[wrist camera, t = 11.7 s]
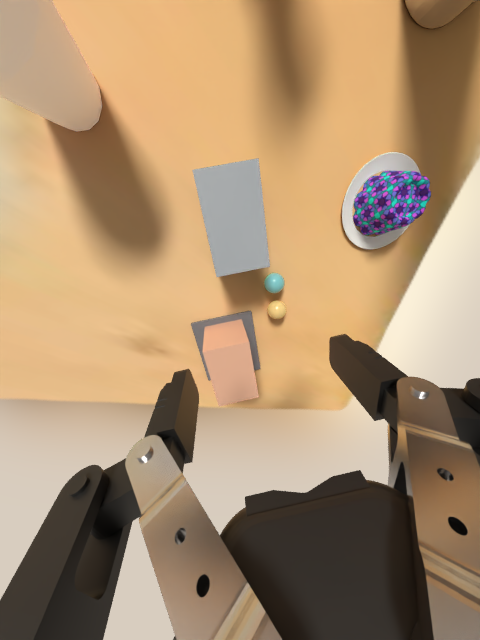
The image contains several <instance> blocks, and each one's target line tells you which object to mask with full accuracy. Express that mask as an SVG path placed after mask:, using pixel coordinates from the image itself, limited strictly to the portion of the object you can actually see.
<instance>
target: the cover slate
mask: <svg viewBox="0 0 480 640" xmlns="http://www.w3.org/2000/svg"><path fill="white" fill-rule="evenodd" d="M193 174H194V178H195V183H196V187H197V191H198V196H199V200H200V205H201V209H202V214H203V218H204V223H205V227H206V232H207V236H208V241H209V245H210V250H211V254H212V258H213V263H214V267H215V272H216V276H217V277H220V276H225V275H230V274H235V273H240V272H245V271H250V270H255V269H260V268H265V267H270V263H269V253H268V244H267V234H266V225H265V215H264V206H263V196H262V187H261V177H260V168H259V158H258V159H252V160H246V161H241V162H235V163H229V164H224V165H218V166H212V167H207V168H201V169H195V170H193Z"/></svg>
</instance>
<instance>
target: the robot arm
mask: <svg viewBox="0 0 480 640" xmlns="http://www.w3.org/2000/svg"><path fill="white" fill-rule="evenodd" d="M476 1H478V0H405V2H406V6H407V8H408V11H409V13H410V15H411V16H412V18H413V19H414V20H415V21H416V23H418V24H419V25H421V26H423V27H425V28H431V29H432V28H438V27H441V26H443V25H445V24H447V23H449V22H450V21H451V20H453V19H454V18H455V17H456V16H458V15H459V14H460V13H461V12H462V11H463V10H464V9H465V8H467V7H468V6H469V5H470V4H471V3H472V2H476ZM329 359H330V364H331V367H332V369H333V370H334V371H335V373H336V374H337V375H338V376H339V378H340V379H341V380H342V381H343V382H344V384H345V385H346V386H347V387H348V389H349V390H350V391H351V392H352V394H353V395H354V396H355V397H356V399H357V400H358V401H359V402H360V403H361V405H362V406H363V407H364V408H365V410H366V411H367V412H368V413H369V415H370V416H371V417H372V418H373V419H374V421H376V420H381V419H385V420H386V421H387V422H388V451H389V477H388V486H387V485H384V484H382V483H378V482H375V481H369V480H366V479H365V478H364V476H363V474H362V473H361V471H360V470H359V471H354V472H350V473H346V474H342V475H337V476H333V477H331V478H329V479H328V480H326V481H324V482H323V483H321V484H320V485H318V486H317V487H315V488H313V489H312V490H310V491H309V492H307V493H297V492H286V491H276V490H272V491H268V492H264V493H260V494H255V495H251V496H246V497H245V504H246V507H245V508H244V509H242V510H241V511H239V512H238V513H237V514H236V515H235V516H234V517H233V518H232V519H231V520H230V521H229V522H228V524H227V525H226V527H225V528H224V529H223V531H222V533H221V535H219V534H218V532H217V530H216V529H215V527H214V525H213V524H212V522H211V520H210V519H209V517H208V516H207V514H206V512H205V510H204V509H203V507H202V505H201V504H200V502H199V500H198V499H197V497H196V495H195V494H194V492H193V491H192V489H191V487H190V485H189V484H188V482H187V481H186V479H185V477H184V476H183V467H184V464H186V463H190V462H192V458H193V450H194V441H195V432H196V422H197V412H198V404H199V393H198V389H197V387H196V384H195V382H194V379H193V377H192V374H191V372H190V370H189V369H186V370H182V371H178V372H175V373H174V375H173V379H172V382H171V383H167V384H166V385H165V386H164V388H163V389H162V390H161V391H160V394H159V397H158V402H157V403H156V405H155V409H154V411H153V414H152V417H151V420H150V423H149V425H148V428H147V431H146V434H145V437H144V438H143V439H141V440H140V441H138V442H137V443H136V444H135V445H134V446H133V447H132V449H131V450H130V452H129V453H128V455H127V458H126V459H124V460H122V461H121V462H118V463H117V464H115V465H113V466H111V467H109V468H107V469H105V470H103V469H102V468H101V467H99V466H98V465H91V466H88V467H86V468H84V469H82V470H80V471H79V472H78V473H76V474H75V475H74V476H73V477H72V478H71V479H70V480H69V481H68V482H67V483H66V484H65V486H64V487H63V489H62V490H61V492H60V494H59V495H58V497H57V499H56V501H55V502H54V504H53V506H52V508H51V510H50V512H49V513H48V515H47V517H46V519H45V520H44V523H43V524H42V526H41V528H40V530H39V532H38V533H37V535H36V537H35V539H34V540H33V542H32V544H31V546H30V548H29V549H28V551H27V553H26V555H25V557H24V558H23V560H22V562H21V564H20V566H19V567H18V569H17V571H16V573H15V575H14V576H13V578H12V580H11V582H10V584H9V586H8V587H7V589H6V591H5V593H4V595H3V597H2V598H1V600H0V640H103V637H104V633H105V629H106V625H107V621H108V617H109V613H110V609H111V605H112V601H113V597H114V593H115V589H116V585H117V581H118V577H119V573H120V569H121V565H122V561H123V557H124V553H125V549H126V545H127V541H128V537H129V533H130V529H131V525H132V521H133V520H135V519H136V518H138V517H140V518H139V523H140V527H141V531H142V534H143V537H144V540H145V543H146V546H147V549H148V552H149V556H150V559H151V562H152V565H153V568H154V571H155V574H156V577H157V580H158V583H159V587H160V590H161V593H162V596H163V599H164V602H165V605H166V608H167V611H168V615H169V618H170V621H171V624H172V627H173V630H174V633H175V637H174V639H173V640H480V378H476V379H471V380H469V381H468V382H467V383H466V386H465V388H464V389H457V388H439V387H438V386H436V385H435V384H433V383H431V382H429V381H427V380H425V379H421V378H417V377H408V376H407V375H405V374H404V373H403V372H402V371H400V370H399V369H398V368H397V367H395V366H394V365H393V364H391V363H390V362H389V361H387V360H386V359H385V358H383V357H382V356H381V355H380V354H379V353H377V352H376V351H375V350H374V349H372V348H371V347H370V346H368V345H367V344H364V343H362V342H359V341H354V340H352V339H351V338H350V337H349V336H347V335H346V334H343V335H338V336H334V337H331V338H330V354H329Z"/></svg>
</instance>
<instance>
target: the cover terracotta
mask: <svg viewBox="0 0 480 640" xmlns="http://www.w3.org/2000/svg"><path fill="white" fill-rule="evenodd" d="M203 355H204V359H205V362H206V365H207V368H208V372H209V375H210V378H211V382H212V385H213V388H214V392H215V395H216V398H217V402H218V405H219V406H223V405H227V404H232V403H236V402H240V401H245V400H249V399H253V398H258V397H259V395H258V389H257V383H256V378H255V372H254V366H253V361H252V355H251V349H250V344H249V340H248V337H247V334H246V331H245V328H244V325H243V322H242V319H239V320H235V321H230V322H225V323H220V324H216V325H211V326H206V327H205V329H204V340H203Z"/></svg>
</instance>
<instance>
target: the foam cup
mask: <svg viewBox="0 0 480 640" xmlns="http://www.w3.org/2000/svg"><path fill="white" fill-rule="evenodd" d="M0 97H2V98H4V99H7V100H9V101H11V102H13V103H15V104H17V105H19V106H21V107H23V108H25V109H27V110H29V111H31V112H33V113H35V114H37V115H39V116H41V117H43V118H45V119H48V120H50V121H52V122H54V123H56V124H58V125H60V126H63V127H65V128H68V129H70V130H73V131H76V132H77V131H85V130H90V129H91V128H92V127H93V126H94V125H95V124H96V123H97V122H98V121H99V117H100V113H101V109H102V100H101V94H100V88H99V86H98V84H97V82H96V80H95V78H94V76H93V74H92V72H91V70H90V68H89V66H88V64H87V62H86V60H85V58H84V57H83V55H82V53H81V51H80V49H79V48H78V46H77V44H76V42H75V40H74V39H73V37H72V35H71V33H70V31H69V30H68V28H67V26H66V24H65V22H64V21H63V19H62V17H61V15H60V13H59V12H58V10H57V8H56V6H55V4H54V3H53V1H52V0H0Z"/></svg>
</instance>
